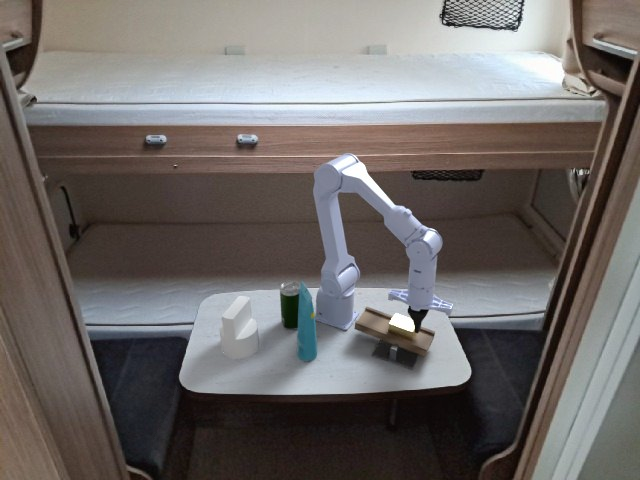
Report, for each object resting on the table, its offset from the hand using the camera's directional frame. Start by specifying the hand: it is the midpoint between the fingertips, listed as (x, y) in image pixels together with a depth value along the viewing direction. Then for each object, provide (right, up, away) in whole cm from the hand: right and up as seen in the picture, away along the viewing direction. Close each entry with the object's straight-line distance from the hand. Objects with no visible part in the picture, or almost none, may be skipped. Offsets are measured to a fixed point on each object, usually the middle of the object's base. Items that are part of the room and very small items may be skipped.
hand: (417, 330), depth 111 cm
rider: (-3, -1, +2) cm, 4 cm away
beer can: (-30, -1, +12) cm, 33 cm away
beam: (-5, -2, +4) cm, 7 cm away
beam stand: (-3, -5, +5) cm, 7 cm away
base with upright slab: (-43, -5, +5) cm, 43 cm away
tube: (-26, -6, +2) cm, 27 cm away
